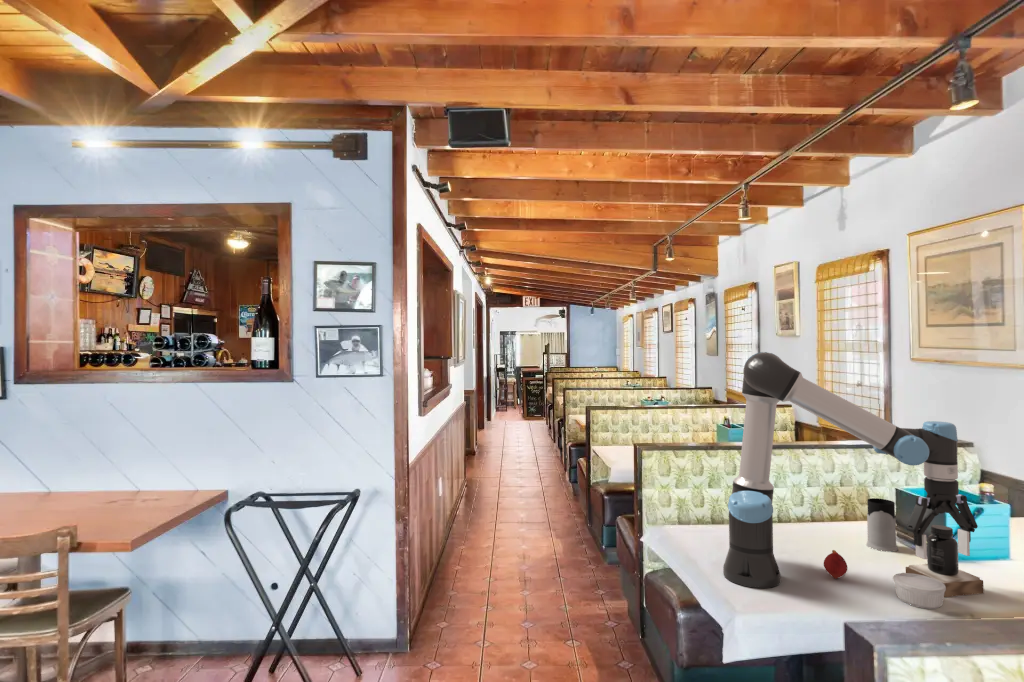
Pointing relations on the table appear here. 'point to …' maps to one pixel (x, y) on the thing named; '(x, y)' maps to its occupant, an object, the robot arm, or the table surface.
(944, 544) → the supplement bottle
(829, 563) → the onion
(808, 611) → the table surface
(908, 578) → the ramekin
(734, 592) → the table surface
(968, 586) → the plinth
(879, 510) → the glass holder
